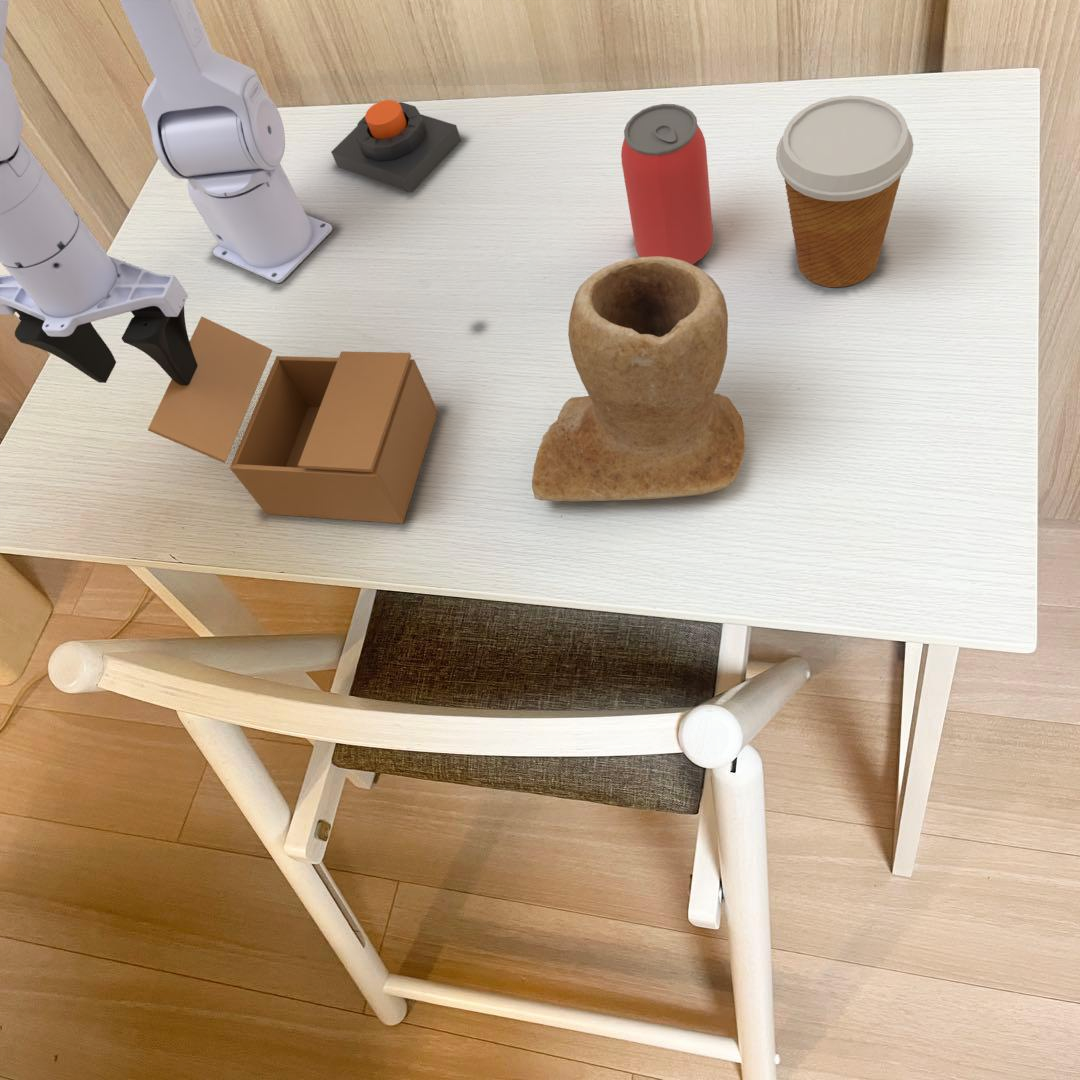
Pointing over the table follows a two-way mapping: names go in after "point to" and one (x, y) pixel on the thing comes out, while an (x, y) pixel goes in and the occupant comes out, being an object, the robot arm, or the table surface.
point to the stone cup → (644, 390)
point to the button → (385, 119)
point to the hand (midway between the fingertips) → (147, 373)
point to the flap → (212, 391)
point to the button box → (398, 150)
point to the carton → (338, 437)
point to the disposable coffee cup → (842, 184)
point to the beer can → (667, 183)
